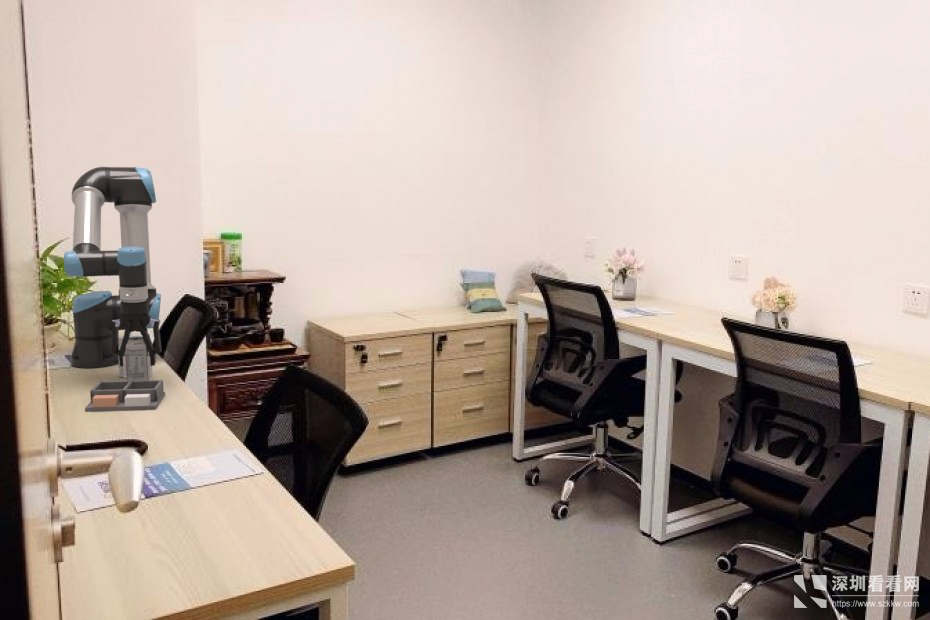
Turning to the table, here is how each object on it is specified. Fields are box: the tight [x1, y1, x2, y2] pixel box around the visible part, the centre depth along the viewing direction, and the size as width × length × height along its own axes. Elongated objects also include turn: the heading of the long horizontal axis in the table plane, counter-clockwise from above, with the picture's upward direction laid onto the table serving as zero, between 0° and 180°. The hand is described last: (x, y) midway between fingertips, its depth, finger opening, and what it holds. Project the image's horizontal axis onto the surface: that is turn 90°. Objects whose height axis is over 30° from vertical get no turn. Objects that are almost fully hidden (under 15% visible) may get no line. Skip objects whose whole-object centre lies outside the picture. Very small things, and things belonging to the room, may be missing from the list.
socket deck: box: [84, 379, 166, 412], centre depth 214 cm, size 13×18×4 cm
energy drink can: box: [126, 337, 151, 381], centre depth 228 cm, size 6×6×15 cm
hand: (138, 376), depth 228 cm, fingers closed on energy drink can, 6 cm apart
